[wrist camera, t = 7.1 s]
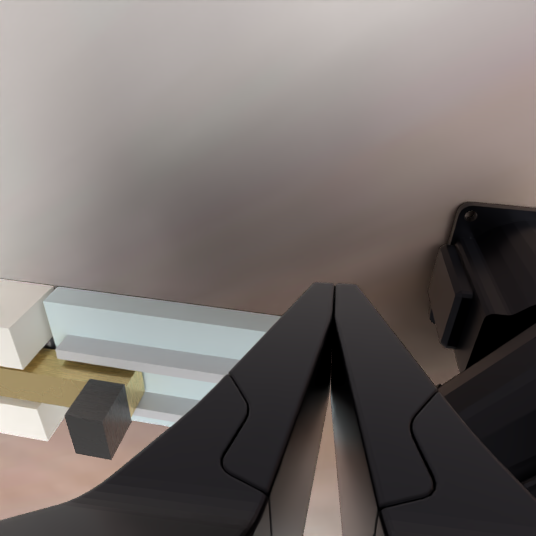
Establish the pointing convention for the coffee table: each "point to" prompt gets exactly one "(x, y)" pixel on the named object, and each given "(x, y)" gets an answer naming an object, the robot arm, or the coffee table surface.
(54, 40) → the coffee table surface
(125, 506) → the robot arm
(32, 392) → the bolt
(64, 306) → the door and jamb
